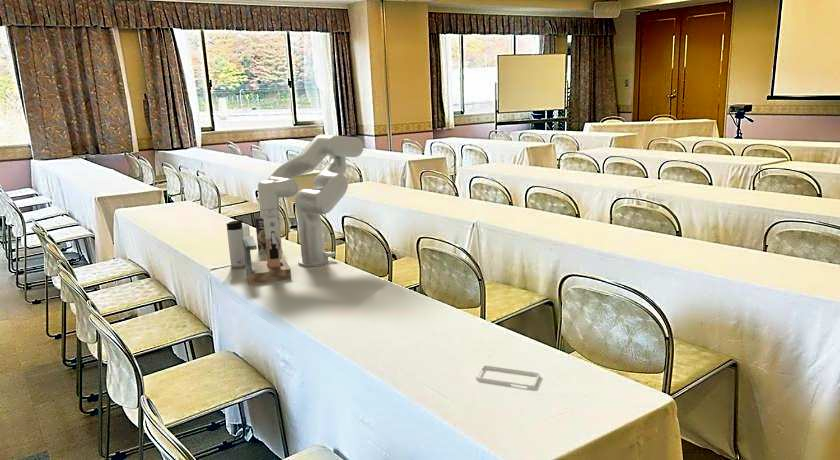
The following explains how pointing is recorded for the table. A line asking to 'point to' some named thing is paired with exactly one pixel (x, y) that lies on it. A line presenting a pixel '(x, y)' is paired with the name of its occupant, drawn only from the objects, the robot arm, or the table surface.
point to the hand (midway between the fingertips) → (273, 256)
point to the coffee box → (263, 235)
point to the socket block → (262, 266)
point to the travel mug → (236, 244)
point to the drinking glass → (246, 230)
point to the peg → (271, 262)
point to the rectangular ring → (507, 381)
